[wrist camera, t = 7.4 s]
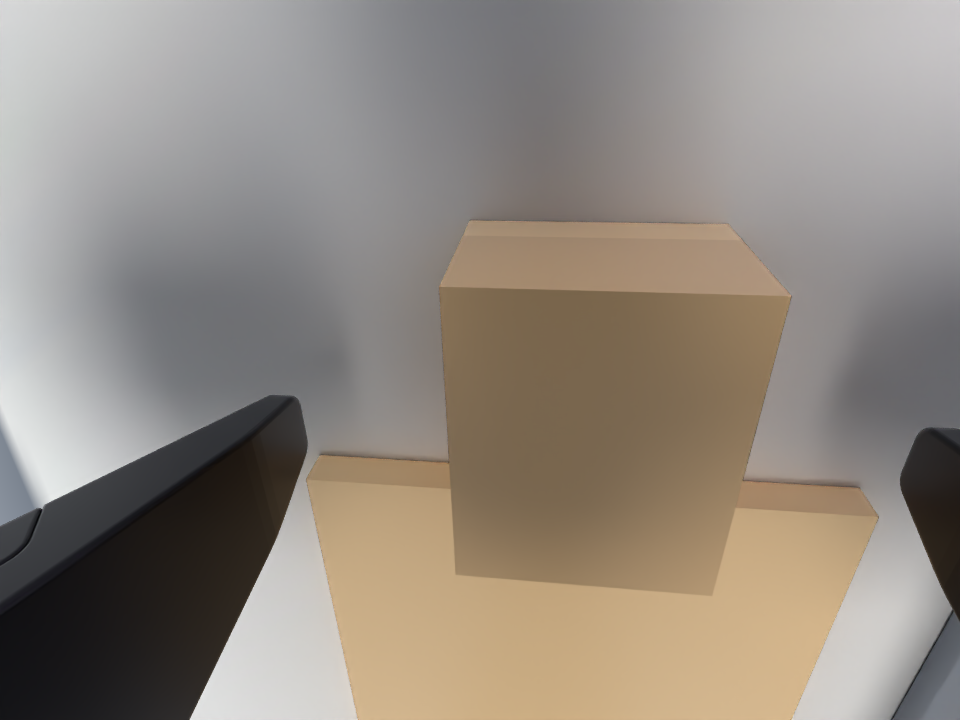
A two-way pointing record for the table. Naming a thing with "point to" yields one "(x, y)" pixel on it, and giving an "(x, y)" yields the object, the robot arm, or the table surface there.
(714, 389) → the tan board with handle
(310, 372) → the table surface
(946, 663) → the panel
